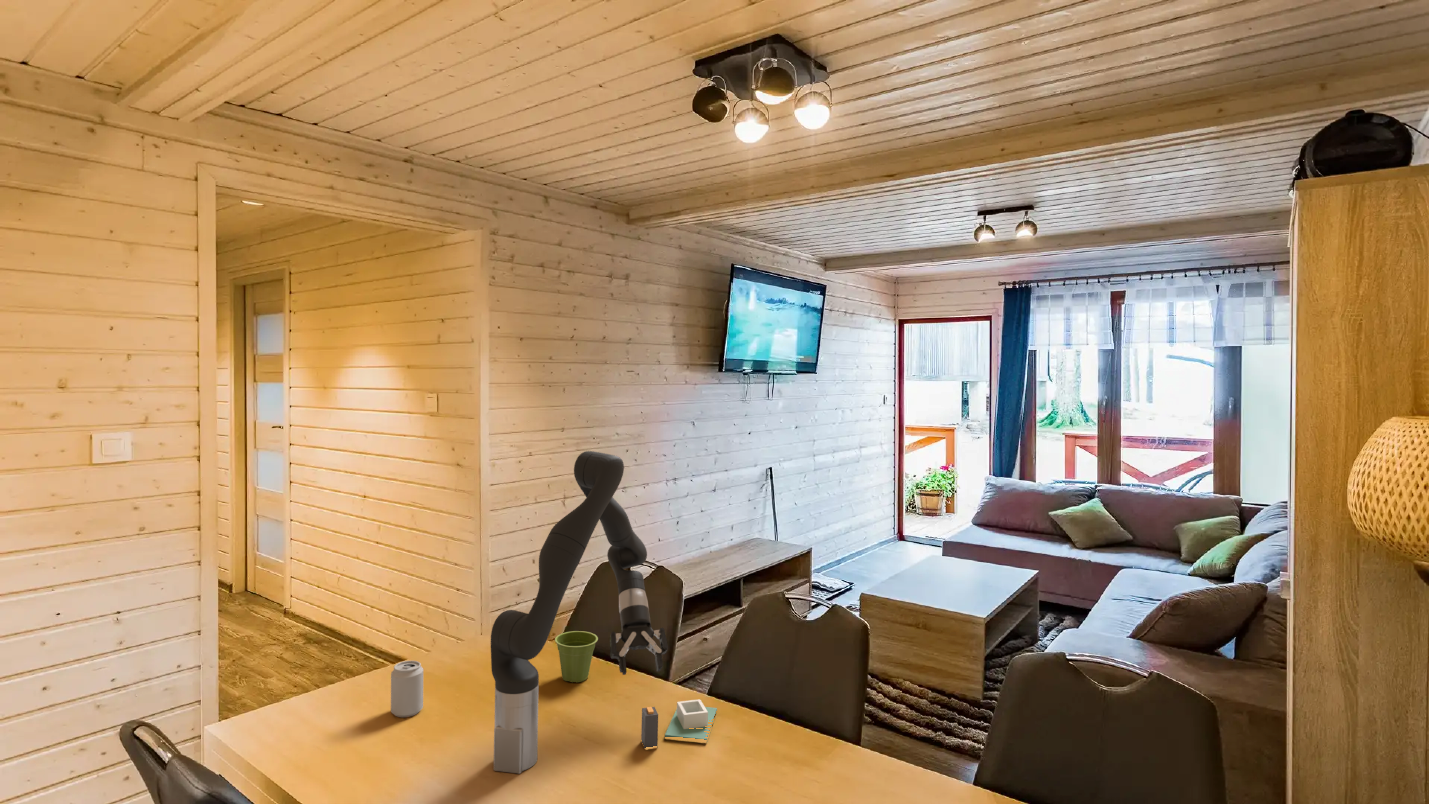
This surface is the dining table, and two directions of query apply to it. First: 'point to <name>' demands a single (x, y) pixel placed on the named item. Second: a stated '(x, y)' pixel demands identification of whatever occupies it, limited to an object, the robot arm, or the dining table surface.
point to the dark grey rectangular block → (649, 727)
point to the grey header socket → (692, 714)
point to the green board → (678, 731)
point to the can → (406, 689)
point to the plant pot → (575, 654)
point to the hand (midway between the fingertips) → (642, 671)
